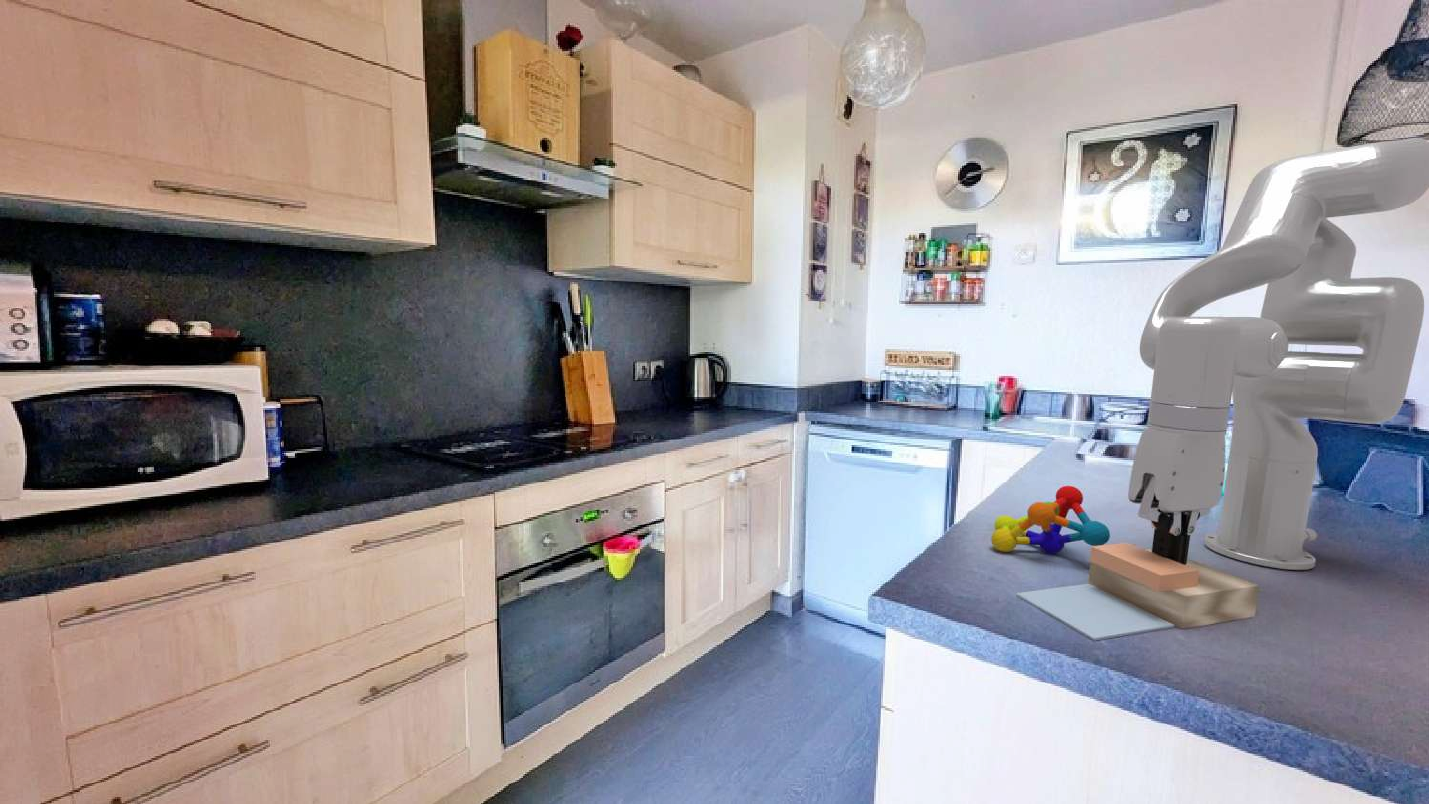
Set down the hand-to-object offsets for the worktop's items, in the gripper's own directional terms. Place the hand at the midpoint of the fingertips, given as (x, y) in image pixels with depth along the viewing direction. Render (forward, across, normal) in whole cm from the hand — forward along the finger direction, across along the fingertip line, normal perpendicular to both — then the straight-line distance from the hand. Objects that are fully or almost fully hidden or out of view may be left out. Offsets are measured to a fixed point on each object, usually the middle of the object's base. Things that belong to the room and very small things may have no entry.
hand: (1168, 561), depth 72 cm
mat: (+5, +12, 0) cm, 13 cm away
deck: (+5, -1, 0) cm, 5 cm away
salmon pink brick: (+1, +4, 0) cm, 4 cm away
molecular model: (+6, +2, -18) cm, 19 cm away
